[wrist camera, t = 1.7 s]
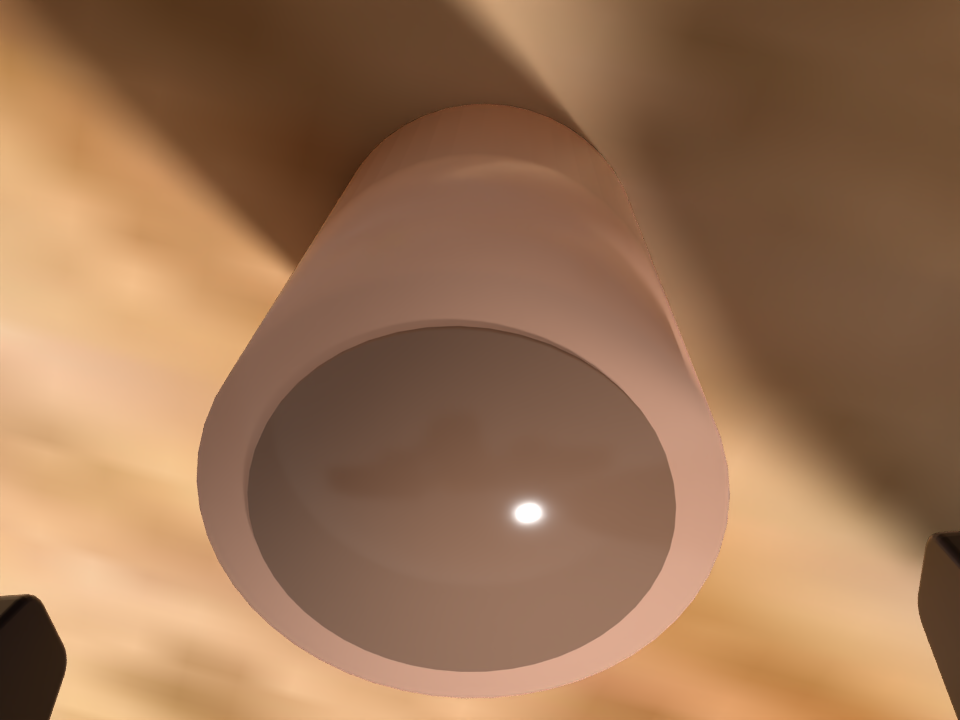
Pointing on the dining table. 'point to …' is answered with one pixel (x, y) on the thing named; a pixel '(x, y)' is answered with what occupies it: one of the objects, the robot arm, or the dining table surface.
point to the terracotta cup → (469, 423)
